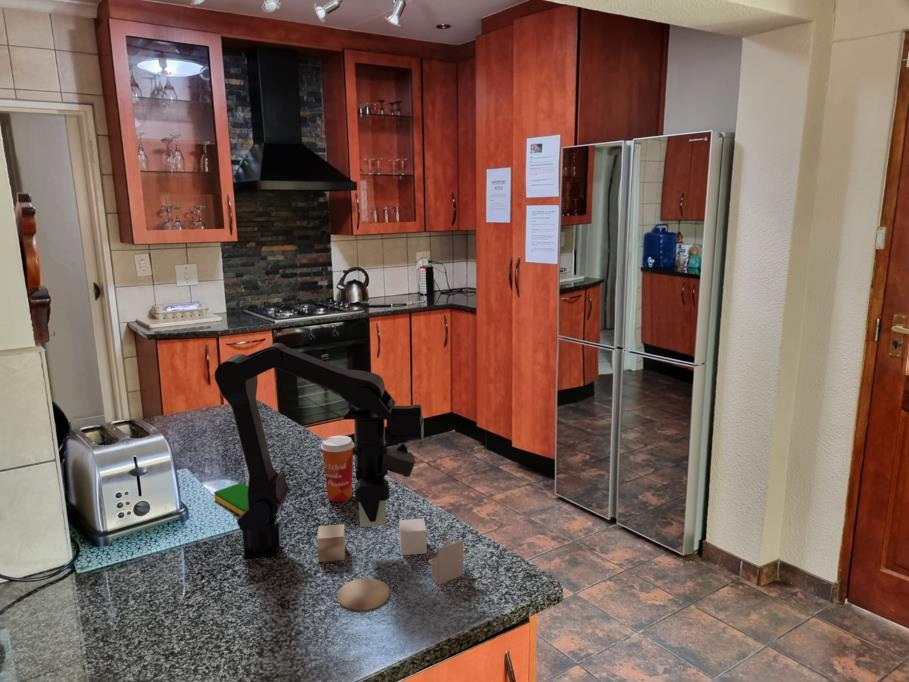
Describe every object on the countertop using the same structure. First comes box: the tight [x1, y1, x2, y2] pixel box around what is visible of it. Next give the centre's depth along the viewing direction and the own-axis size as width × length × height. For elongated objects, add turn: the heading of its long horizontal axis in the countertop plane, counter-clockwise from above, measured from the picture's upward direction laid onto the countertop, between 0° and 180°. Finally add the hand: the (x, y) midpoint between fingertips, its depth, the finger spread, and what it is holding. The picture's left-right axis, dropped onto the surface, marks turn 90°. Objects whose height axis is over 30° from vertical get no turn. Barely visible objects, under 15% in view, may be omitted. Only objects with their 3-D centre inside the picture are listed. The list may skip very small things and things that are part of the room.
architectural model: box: [427, 539, 468, 586], centre depth 121 cm, size 3×7×7 cm, turn 128°
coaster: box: [337, 577, 390, 612], centre depth 115 cm, size 9×9×1 cm
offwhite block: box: [398, 517, 428, 556], centre depth 131 cm, size 5×5×5 cm
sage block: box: [358, 500, 387, 528], centre depth 128 cm, size 5×5×5 cm
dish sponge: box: [214, 482, 248, 516], centre depth 151 cm, size 7×14×2 cm, turn 47°
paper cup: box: [320, 435, 355, 503], centre depth 153 cm, size 8×8×14 cm
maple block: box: [316, 523, 346, 563], centre depth 129 cm, size 5×5×5 cm
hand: (372, 515), depth 129 cm, fingers closed on sage block, 5 cm apart
